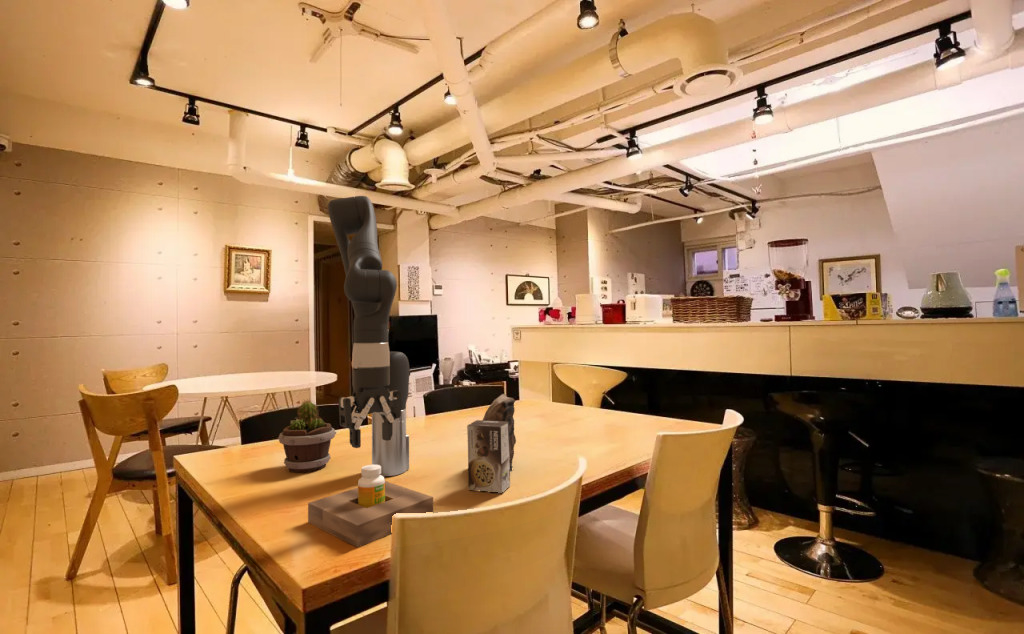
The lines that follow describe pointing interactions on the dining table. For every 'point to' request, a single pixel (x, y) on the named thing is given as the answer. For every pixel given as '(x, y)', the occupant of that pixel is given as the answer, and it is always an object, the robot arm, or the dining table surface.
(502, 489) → the coffee box
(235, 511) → the dining table surface
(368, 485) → the supplement bottle
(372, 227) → the robot arm
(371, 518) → the socket board
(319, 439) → the flowerpot
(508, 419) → the owl
